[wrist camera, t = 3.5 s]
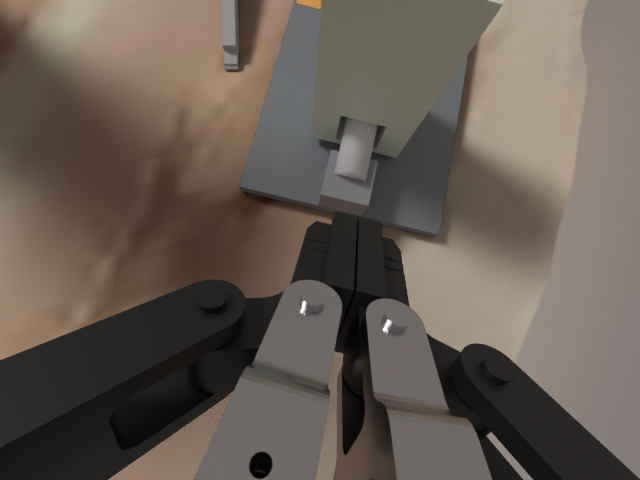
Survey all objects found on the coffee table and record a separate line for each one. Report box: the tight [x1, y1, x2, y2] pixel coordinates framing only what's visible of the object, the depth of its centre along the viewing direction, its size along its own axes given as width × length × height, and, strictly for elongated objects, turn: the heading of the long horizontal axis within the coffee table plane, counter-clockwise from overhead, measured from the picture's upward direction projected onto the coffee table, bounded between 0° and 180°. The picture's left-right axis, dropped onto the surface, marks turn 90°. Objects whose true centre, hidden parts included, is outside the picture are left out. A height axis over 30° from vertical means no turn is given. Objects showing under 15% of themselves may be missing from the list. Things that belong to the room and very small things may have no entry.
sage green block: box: [312, 0, 503, 158], centre depth 16 cm, size 6×5×12 cm
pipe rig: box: [239, 0, 468, 237], centre depth 22 cm, size 14×24×4 cm, turn 167°
